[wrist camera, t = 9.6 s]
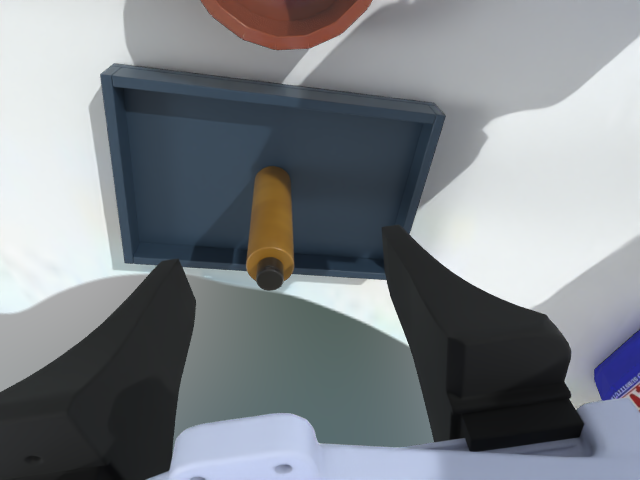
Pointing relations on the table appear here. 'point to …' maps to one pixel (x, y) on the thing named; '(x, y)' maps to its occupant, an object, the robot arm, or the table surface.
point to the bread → (621, 373)
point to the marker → (271, 229)
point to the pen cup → (286, 20)
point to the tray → (261, 167)
